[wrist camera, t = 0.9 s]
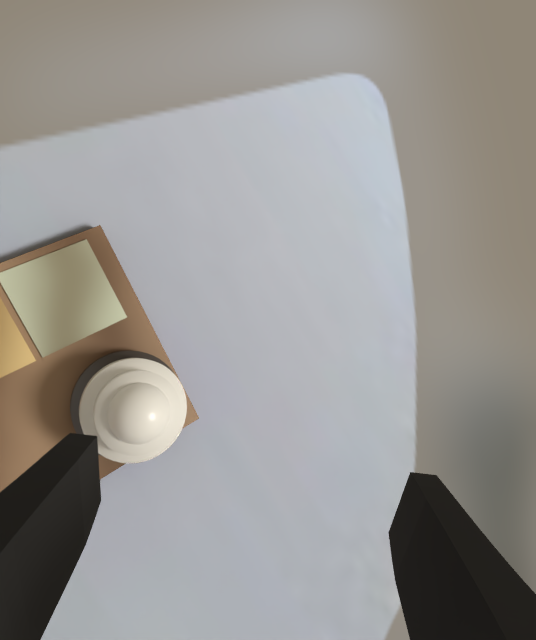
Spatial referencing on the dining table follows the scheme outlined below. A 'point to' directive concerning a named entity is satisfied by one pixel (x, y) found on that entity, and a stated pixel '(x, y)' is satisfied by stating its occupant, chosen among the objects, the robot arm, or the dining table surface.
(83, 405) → the dome
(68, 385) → the game board
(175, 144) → the dining table surface
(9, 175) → the dining table surface
